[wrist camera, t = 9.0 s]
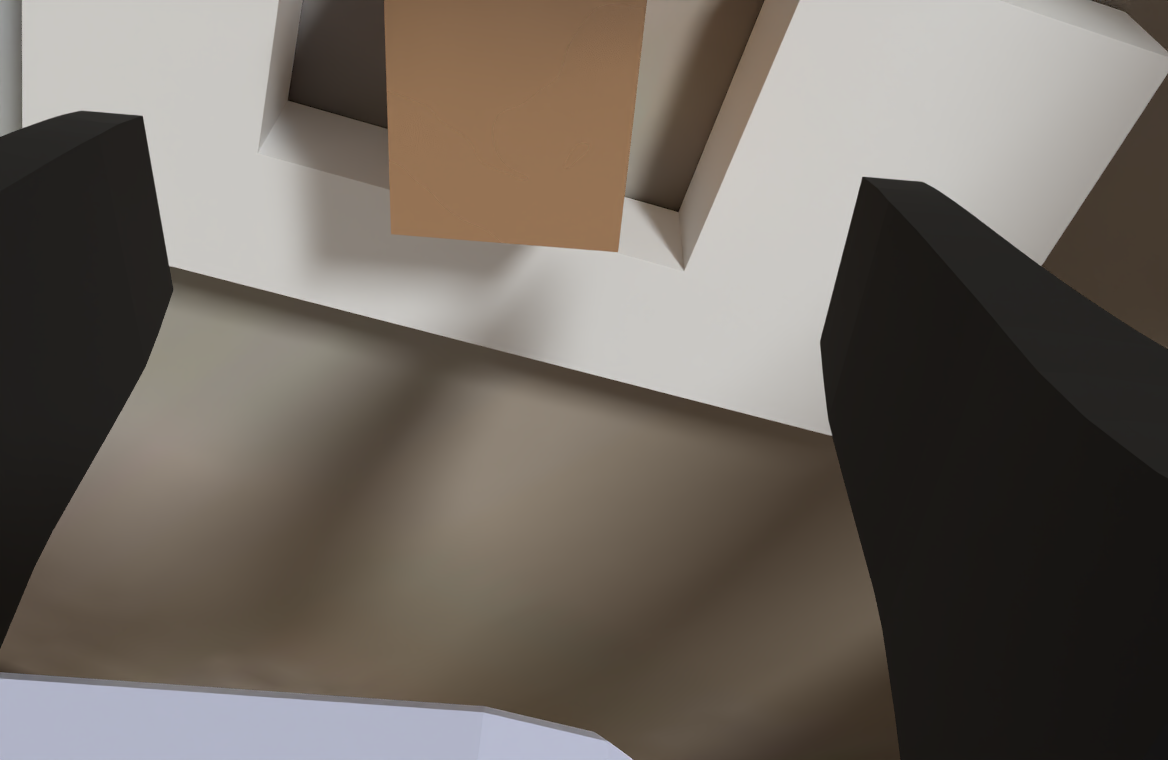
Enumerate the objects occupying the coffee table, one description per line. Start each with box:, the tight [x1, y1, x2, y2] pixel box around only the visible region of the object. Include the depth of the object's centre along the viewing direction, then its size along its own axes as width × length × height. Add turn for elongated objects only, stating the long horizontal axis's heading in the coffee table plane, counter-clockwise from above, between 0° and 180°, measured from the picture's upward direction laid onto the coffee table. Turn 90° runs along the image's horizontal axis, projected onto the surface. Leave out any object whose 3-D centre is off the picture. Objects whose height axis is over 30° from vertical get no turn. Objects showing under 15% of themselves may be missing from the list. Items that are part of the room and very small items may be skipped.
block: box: [384, 0, 647, 252], centre depth 15 cm, size 3×4×5 cm
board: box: [22, 0, 1168, 436], centre depth 18 cm, size 16×8×2 cm, turn 73°
